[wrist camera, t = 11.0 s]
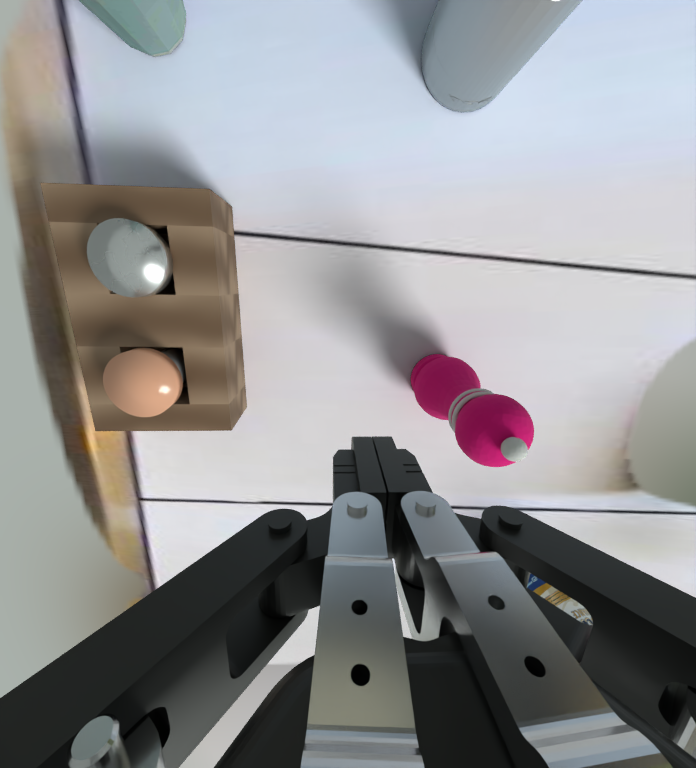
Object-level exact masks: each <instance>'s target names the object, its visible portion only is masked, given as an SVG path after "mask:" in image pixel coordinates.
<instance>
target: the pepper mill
mask: <svg viewBox="0 0 696 768" xmlns="http://www.w3.org/2000/svg"><path fill="white" fill-rule="evenodd" d="M411 385H412V388H413V390H414V392H415V397H416V400H417V402H418V403H419V405H420V406H421V407H422V409H423V410H424V411H425V412H427V413H428V414H429V415H431V416H433V417H436V418H439V419H442V420H449V424H450V427H451V428H452V430H453V431H454V432H455V436H456V440H457V442H458V445H459V446H460V448H461V449H462V451H463V452H464V453H465V454H466V455H467V456H468V457H469V458H470V459H472V460H473V461H475V462H477V463H479V464H482V465H484V466H489V467H502V466H507V465H510V464H512V463H515V462H518V461H521V460H523V459H524V458H525V457H526V456H527V453H528V449H529V448H530V446H531V444H532V441H533V437H534V427H533V422H532V419H531V417H530V415H529V414H528V412H527V411H526V409H525V408H524V407H523V406H522V405H521V404H519V403H518V402H517V401H515V400H514V399H512V398H510V397H508V396H504V395H499V394H494V393H492V392H491V391H489V390H486V389H480V381H479V379H478V377H477V375H476V373H475V371H474V370H473V369H472V368H471V367H470V366H469V365H468V364H467V363H465V362H464V361H462V360H460V359H458V358H454V357H447V356H445V355H441V354H433V355H429V356H427V357H424V358H423V359H421V360H420V361H419V362H418V363H417V364H416V365H415V367H414V369H413V371H412V374H411Z"/></svg>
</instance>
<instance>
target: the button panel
mask: <svg viewBox="0 0 696 768" xmlns="http://www.w3.org/2000/svg"><path fill="white" fill-rule="evenodd" d="M40 184H41V188H42V193H43V197H44V202H45V206H46V211H47V215H48V220H49V224H50V229H51V233H52V238H53V242H54V247H55V251H56V256H57V260H58V265H59V269H60V274H61V278H62V282H63V287H64V291H65V296H66V300H67V305H68V309H69V314H70V318H71V323H72V327H73V332H74V336H75V341H76V345H77V350H78V354H79V359H80V363H81V368H82V372H83V377H84V381H85V386H86V390H87V395H88V399H89V404H90V408H91V413H92V417H93V422H94V426H95V431H212V430H232V429H233V427H234V426H235V424H236V423H237V421H238V420H239V418H240V417H241V415H242V414H243V412H244V411H245V409H246V408H247V402H246V389H245V376H244V362H243V349H242V335H241V322H240V308H239V295H238V281H237V268H236V255H235V241H234V228H233V214H232V206H230V205H229V204H228V203H227V202H225V201H224V200H223V199H222V198H220V197H219V196H218V195H216V194H215V193H214V192H213V191H211V190H210V189H196V188H169V187H142V186H115V185H88V184H61V183H40ZM113 218H124V219H129V220H132V221H136V222H139V223H142V224H144V225H147V226H149V227H150V228H152V229H153V230H155V231H156V232H157V233H158V234H159V235H160V236H161V237H162V238H163V239H164V240H165V242H169V245H170V251H171V254H172V258H173V276H174V284H173V285H167V286H166V287H165V288H164V289H163V290H162V291H160V292H159V293H157V294H155V295H152V296H146V297H126V296H122V295H119V294H116V293H114V292H112V291H111V290H109V289H108V288H106V287H105V286H104V285H103V284H102V283H101V282H100V281H99V280H98V279H97V278H96V276H95V275H94V273H93V271H92V269H91V267H90V265H89V261H88V257H87V243H88V239H89V237H90V235H91V233H92V231H93V230H94V229H95V228H96V226H98V225H99V224H100V223H102V222H104V221H106V220H109V219H113ZM168 347H174V348H178V349H181V350H183V355H184V362H185V370H186V378H187V383H185V384H184V385H183V388H182V393H181V395H180V397H179V399H178V400H177V401H176V402H175V403H174V404H173V405H172V406H171V407H169V408H168V409H167V410H166V411H164V412H163V413H161V414H159V415H156V416H152V417H137V416H133V415H130V414H128V413H126V412H124V411H122V410H121V409H119V408H118V407H117V406H116V405H115V404H114V403H113V402H112V401H111V400H110V399H109V397H108V395H107V394H106V391H105V389H104V385H103V373H104V370H105V367H106V365H107V364H108V362H109V361H110V360H111V359H112V358H113V357H115V356H116V355H118V354H120V353H123V352H126V351H129V350H132V349H136V348H151V349H154V350H157V351H159V350H162V349H164V348H168Z"/></svg>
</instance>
